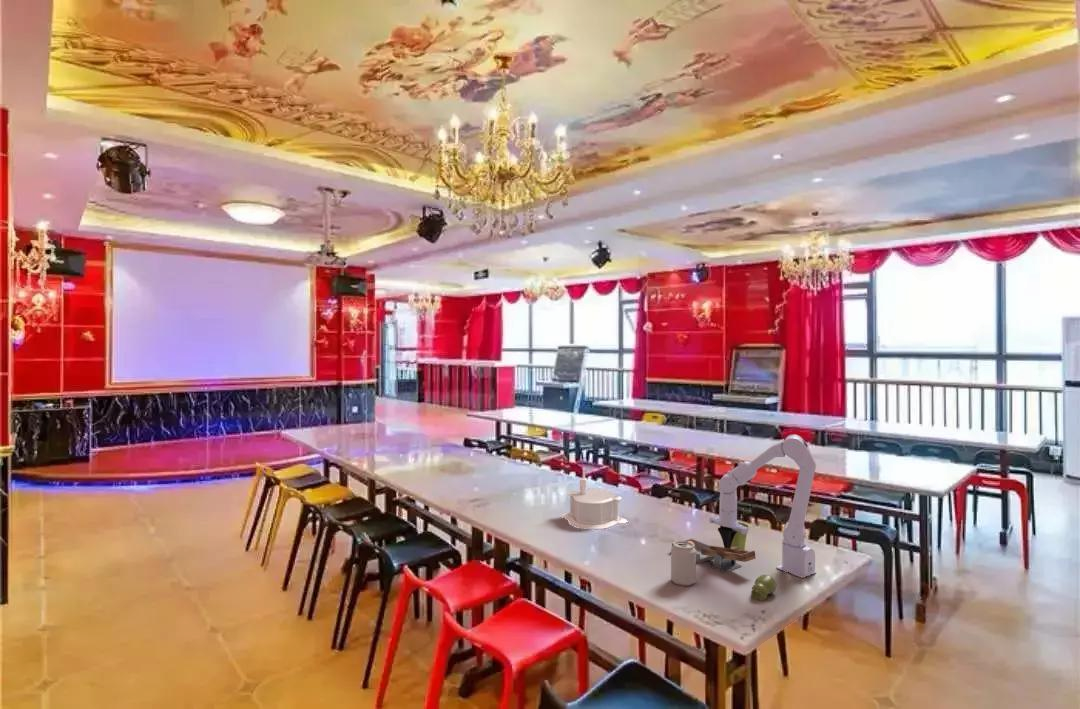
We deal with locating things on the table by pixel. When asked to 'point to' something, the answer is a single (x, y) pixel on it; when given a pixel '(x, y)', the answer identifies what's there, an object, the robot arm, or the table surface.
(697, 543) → the tray
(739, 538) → the plant pot
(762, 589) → the pear
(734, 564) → the fulcrum
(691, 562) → the can
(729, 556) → the plank
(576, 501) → the birthday cake
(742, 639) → the table surface
